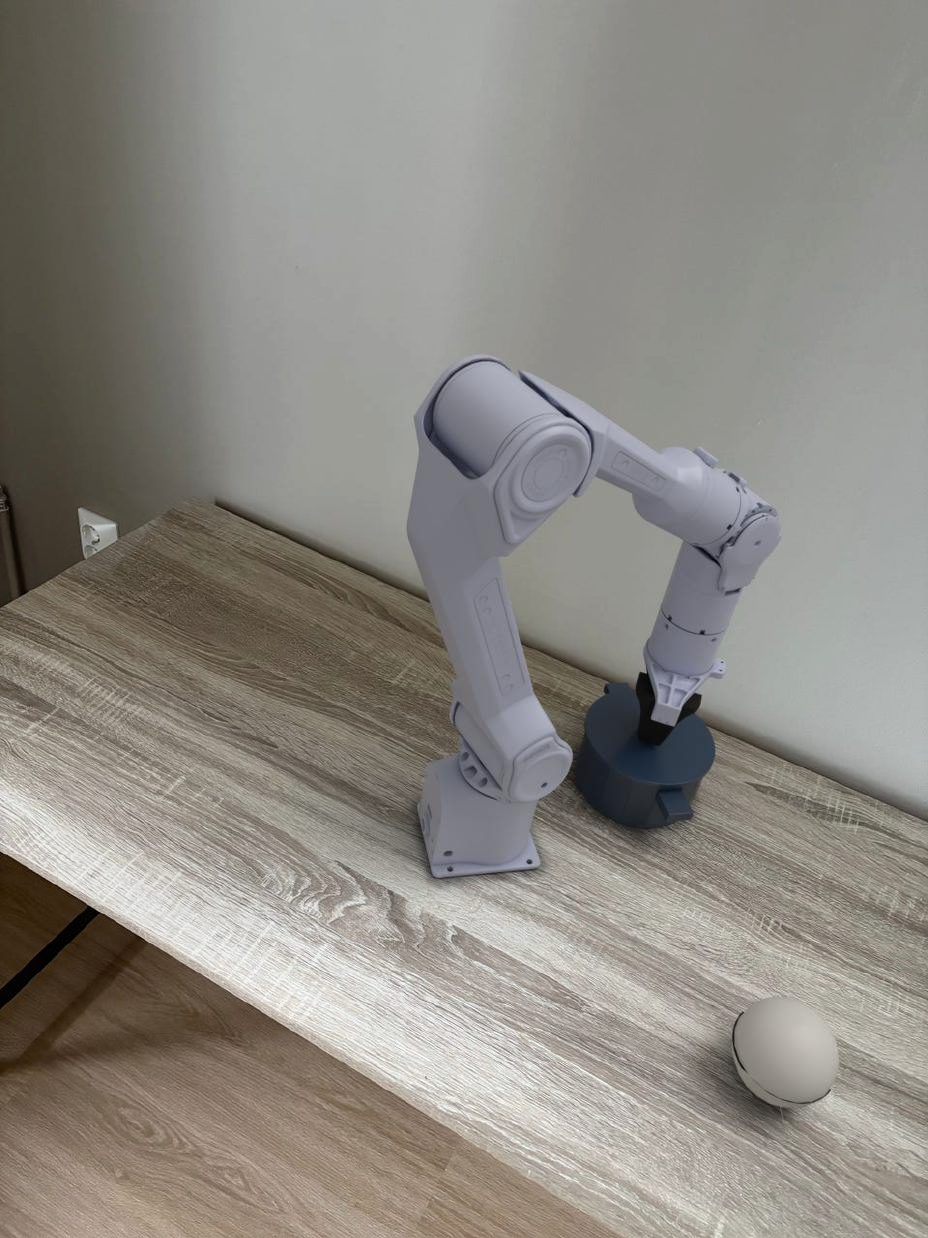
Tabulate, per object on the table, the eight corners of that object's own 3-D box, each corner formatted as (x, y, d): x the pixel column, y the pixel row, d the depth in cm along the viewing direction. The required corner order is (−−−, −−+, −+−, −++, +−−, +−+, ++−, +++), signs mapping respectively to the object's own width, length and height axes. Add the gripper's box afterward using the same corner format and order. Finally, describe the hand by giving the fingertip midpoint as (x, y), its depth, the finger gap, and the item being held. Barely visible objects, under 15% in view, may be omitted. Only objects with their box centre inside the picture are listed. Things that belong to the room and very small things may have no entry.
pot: (606, 857, 86) (622, 813, 83) (552, 723, 99) (564, 679, 95) (722, 846, 89) (743, 803, 86) (655, 717, 102) (670, 675, 98)
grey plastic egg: (729, 1012, 76) (760, 959, 71) (823, 1058, 74) (861, 1006, 70) (697, 1128, 68) (730, 1077, 64) (802, 1183, 67) (843, 1133, 62)
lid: (607, 797, 85) (620, 760, 82) (565, 700, 94) (576, 663, 91) (733, 788, 88) (750, 751, 85) (681, 694, 97) (695, 659, 94)
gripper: (735, 680, 75) (685, 799, 83) (748, 581, 86) (703, 694, 95) (646, 653, 76) (605, 772, 84) (670, 559, 87) (632, 672, 96)
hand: (652, 729), depth 90 cm, fingers closed on lid, 2 cm apart
